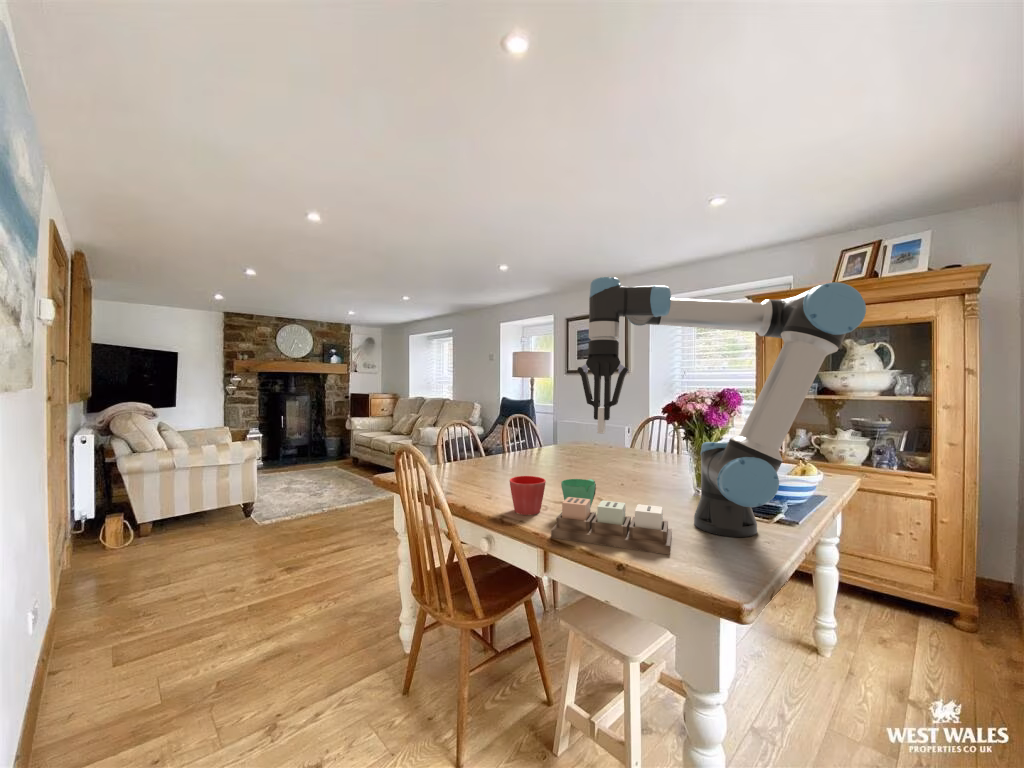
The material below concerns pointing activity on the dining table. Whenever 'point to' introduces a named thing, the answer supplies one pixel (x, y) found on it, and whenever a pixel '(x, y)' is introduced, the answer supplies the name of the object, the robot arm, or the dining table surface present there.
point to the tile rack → (614, 534)
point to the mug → (579, 489)
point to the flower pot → (527, 494)
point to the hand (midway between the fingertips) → (601, 432)
